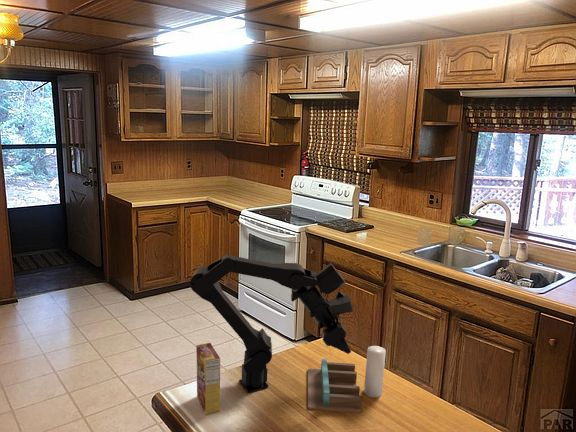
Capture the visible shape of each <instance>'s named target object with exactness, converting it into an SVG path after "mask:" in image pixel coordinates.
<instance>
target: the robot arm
mask: <svg viewBox="0 0 576 432" xmlns="http://www.w3.org/2000/svg"><path fill="white" fill-rule="evenodd" d="M229 273H234V274H237V275H238V274H239V275H244V276H249V277H255V278H258V279H259V278H260V279H265V280H268V281H269V280H271V281H273V282H275V283H278V285H281V286H282V287H285V288H288V289H290V290H291V294H290V301H291V302H295V301H297V300H299V301H300V302H301V304H303V306H304V307H305V308H306V310H307V312H308V314H309V316H310V317H311V318H313V319H314V321H315V322H316V323H317V325H318V328H319V329H320V330H321V329H323V328H325V329H323V330H322V332H321V337H322V341H323V343H324V344H325V346H326V347H332V348H335V349H337V350H339V351H341V352H344V353H345V354H347V355H349V354H350V353H352V350H351V348H350V346H349V344H348V342H347V339H346V336H347V330H346V329H345V328H346V327H344V325H343V324H342V322H340V321H339V318H340V315H342V314H347V313H352V312H353V311H354V307H353V304H352V301H351V298H350V296H349V295H348V294H344V293H343V292H342V291H337V290H338V289H339V288H340V287H342V286H344V285H345V284H346V281H345V279H344V277H343V276H342V275H341V273H340V271H339V270H338V269H336V268H335V266H334V265H333V264H332V263H331V262H330V263H328V264H327V265H326V266H325V267H324V268H322V269H321V270H319V271H317V273H316V271H314V270H310V269H307V268H304V267H303V266H302V265H301V264H300V263H296V262H281V263H271V262H265V261H260V260H255V259H252V258H251V259H250V258H245V257H242V256H241V257H240V256H236V255H233V254H228V253H227V254H226V255H223V257H221V258H219V259H217V260H215V261H212V262H211V263H210V264H208V265H206V266H199V267H198V268H197V269H195V271H194V273H193V275H192V276H191V278H190V282H189V286H190V289H191V290H192V291H193V292H194V293H195V294H196V295H197V296H199V298H201V299H202V300H204V301H207V302H209V303H210V304H211V305H212V306H213V308H214V309H215V310H216V311H217V312H218V313H219V314H220V316H221V317H222V318H223V319H224V320H225V321H226V322H227V324H228V325H229V326H230V327H231V329H232V330H233V331H234V332H235V333H236V335H237V336H238V337H239V338H240V339H241V341H242V342H243V344H244V347H245V351H244V358H243V363H242V364H241V379H239V380H238V383H239V384H240V385H241V386H242V387H243V388H244V390H245V391H246V392H247V393H253V392H256V391H259V390H264V389H266V388H269V384H268V383H267V382H268V368H267V365H268V364H269V363H270V362H271V361H272V359H273V344H272V337H271V336H269V335H268V334H267V332H266V331H265V330H264V328H262V327H261V329H260V330H257V329H255V328H254V327H253V326H252V325H251V323H250V322H249V321H248V320H247V319H246V317H245V316H244V315H243V314H242V313H241V311H240V310H239V309H238V308H237V306H236V305H235V304H234V303H233V302H232V301H231V300H230V299H229V297H228V296H227V294H225V292H224V291H223V289H222V287H221V284H220V282H219V281H220V280H221V279H223V277H225V276H226V275H228V274H229ZM335 291H337V292H335ZM321 292H322V293H321ZM334 292H335V294H334V295H335V296H334V297H333V298H332V299H331V300H329V299H328V297H324V296H323V294H325V295H331V294H332V293H334Z"/></svg>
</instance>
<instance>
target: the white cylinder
mask: <svg viewBox="0 0 576 432" xmlns="http://www.w3.org/2000/svg"><path fill="white" fill-rule="evenodd" d="M366 352H367V353H366V364H365V375H364V376H365V377H364V389H363V393H364V394H365V395H366V396H367V397H370V398H380V397H381V396H382V395H383V388H384V387H383V386H384V385H383V384H384V374H385V366H386V365H385V363H386V354H387V350H386V348H384V347H382V346H378V345H371V346H368V347H367V351H366Z"/></svg>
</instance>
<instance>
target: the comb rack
mask: <svg viewBox="0 0 576 432" xmlns="http://www.w3.org/2000/svg"><path fill="white" fill-rule="evenodd" d="M327 359H328V358H321V361H320V362H321V363H320V365H321V367H320V369H319V368H307V410H311V411H314V410H315V411H327V412H345V413H359V414H360V413H362V401H363V399H362V398H363V397H362V395H360V390H361V388H360V386H359V385H357V371H355V370H356V363H346V362H345V363H344V362H332V361H331V362H330V361H328V360H327Z"/></svg>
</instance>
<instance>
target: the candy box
mask: <svg viewBox="0 0 576 432" xmlns="http://www.w3.org/2000/svg"><path fill="white" fill-rule="evenodd" d="M195 349H196V351H195V352H196V397H197V399H198V401H199V403H200V405H201V407H202V410H203V413H204V415H210V414H214V413H219V412H220V411H221V357H220V355H219V354H218V353H217V351H216V349H215V348H214V346H213V345H212V343H211V342H208V343H202V344H197V345H196V347H195Z"/></svg>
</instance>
